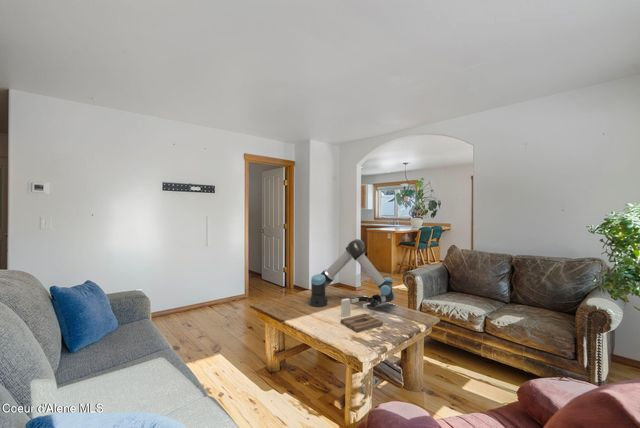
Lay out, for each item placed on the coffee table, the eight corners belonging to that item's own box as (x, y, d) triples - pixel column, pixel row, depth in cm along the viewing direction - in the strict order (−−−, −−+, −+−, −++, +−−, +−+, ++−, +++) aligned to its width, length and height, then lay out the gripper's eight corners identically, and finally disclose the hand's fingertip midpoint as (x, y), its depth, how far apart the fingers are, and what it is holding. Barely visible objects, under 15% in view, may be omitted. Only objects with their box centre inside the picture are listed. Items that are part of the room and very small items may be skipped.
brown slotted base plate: (340, 322, 199) (340, 319, 199) (365, 316, 210) (365, 313, 210) (356, 332, 183) (356, 328, 183) (382, 325, 194) (382, 321, 194)
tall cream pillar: (341, 315, 212) (341, 299, 212) (347, 314, 215) (347, 298, 215) (343, 317, 209) (343, 300, 209) (350, 315, 212) (350, 299, 212)
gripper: (389, 308, 217) (368, 313, 207) (368, 299, 239) (347, 303, 228) (389, 298, 217) (368, 303, 206) (368, 290, 239) (347, 294, 228)
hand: (357, 303), depth 217 cm, fingers open, 13 cm apart
